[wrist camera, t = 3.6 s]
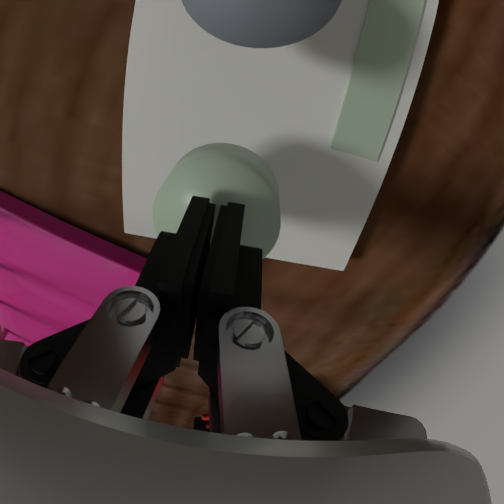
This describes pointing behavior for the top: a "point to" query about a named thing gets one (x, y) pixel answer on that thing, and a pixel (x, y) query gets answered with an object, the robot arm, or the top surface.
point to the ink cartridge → (201, 424)
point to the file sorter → (54, 272)
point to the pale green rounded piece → (223, 191)
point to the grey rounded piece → (261, 20)
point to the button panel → (277, 113)
